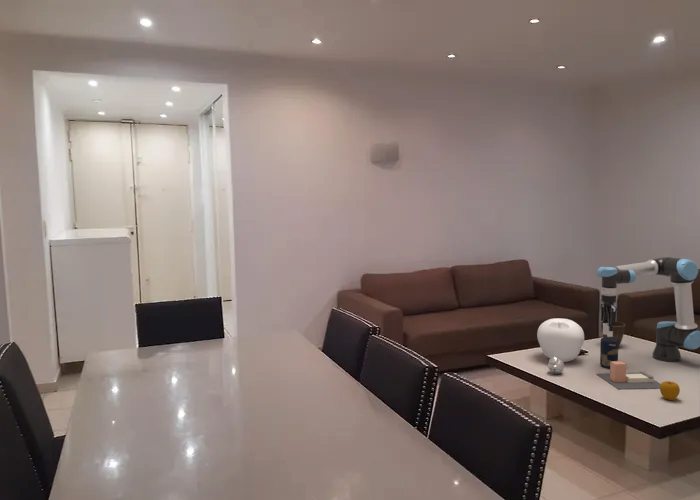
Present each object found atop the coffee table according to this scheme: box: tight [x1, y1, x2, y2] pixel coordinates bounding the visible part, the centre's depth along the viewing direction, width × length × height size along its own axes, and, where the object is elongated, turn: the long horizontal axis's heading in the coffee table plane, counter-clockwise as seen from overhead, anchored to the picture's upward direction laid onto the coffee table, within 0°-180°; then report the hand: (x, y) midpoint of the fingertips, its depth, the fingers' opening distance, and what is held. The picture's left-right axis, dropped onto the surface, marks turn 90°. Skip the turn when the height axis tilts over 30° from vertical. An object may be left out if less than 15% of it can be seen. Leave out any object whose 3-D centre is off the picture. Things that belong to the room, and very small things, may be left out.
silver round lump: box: [547, 357, 566, 375], centre depth 299 cm, size 9×10×10 cm
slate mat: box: [596, 372, 661, 390], centre depth 285 cm, size 26×24×1 cm
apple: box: [659, 380, 681, 401], centre depth 259 cm, size 9×8×9 cm
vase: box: [536, 317, 585, 363], centre depth 323 cm, size 28×27×25 cm
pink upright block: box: [609, 360, 627, 382], centre depth 284 cm, size 6×5×10 cm
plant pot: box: [600, 321, 626, 348], centre depth 349 cm, size 15×15×16 cm
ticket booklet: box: [626, 371, 655, 383], centre depth 285 cm, size 14×9×3 cm, turn 91°
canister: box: [599, 337, 619, 369], centre depth 309 cm, size 10×10×18 cm
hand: (607, 335), depth 294 cm, fingers open, 4 cm apart
